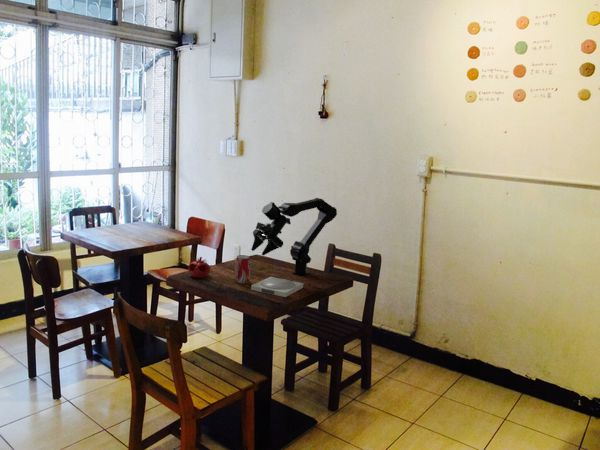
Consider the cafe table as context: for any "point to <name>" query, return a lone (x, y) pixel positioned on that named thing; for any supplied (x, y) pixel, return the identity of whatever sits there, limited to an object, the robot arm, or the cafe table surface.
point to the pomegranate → (199, 268)
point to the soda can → (242, 269)
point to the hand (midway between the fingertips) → (257, 252)
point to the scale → (277, 286)
